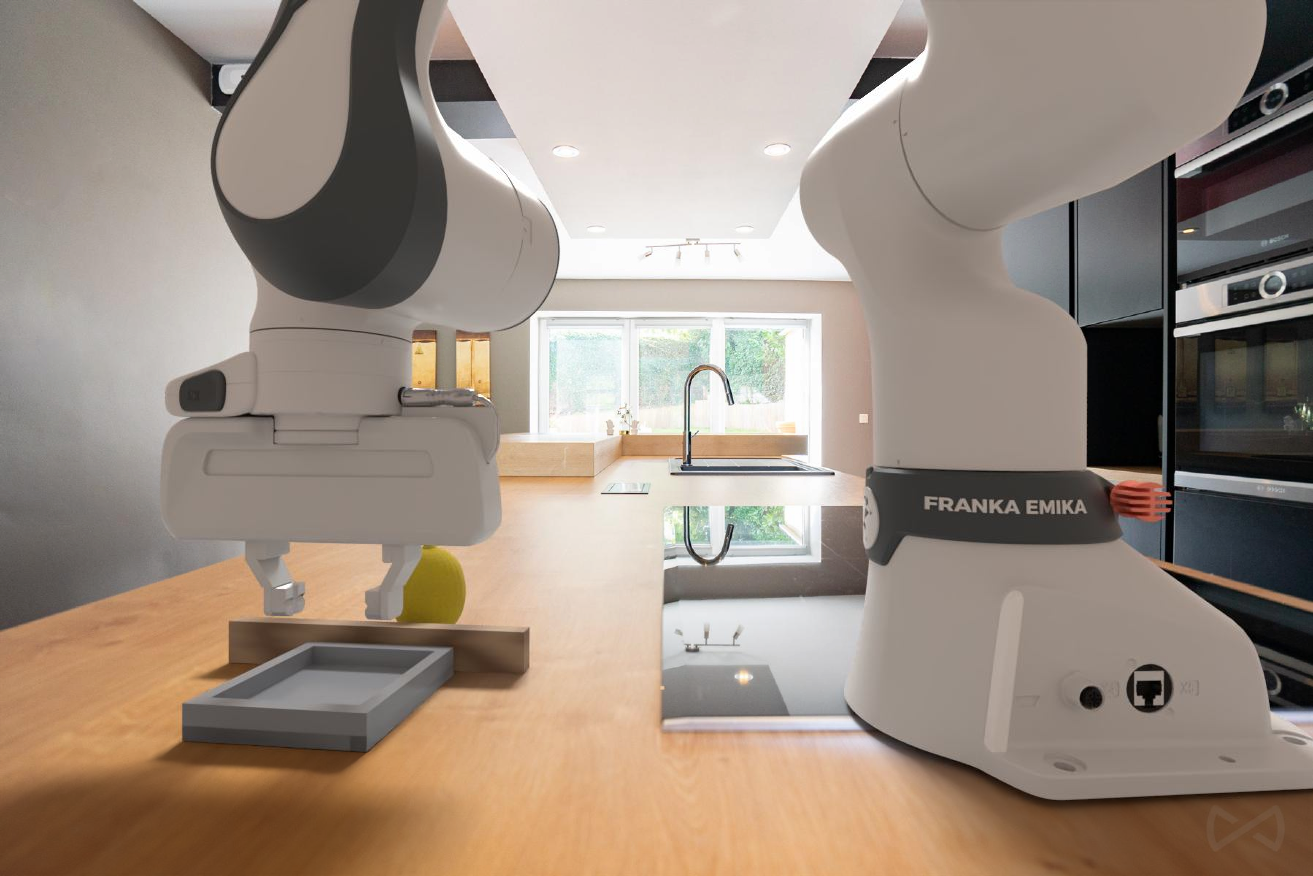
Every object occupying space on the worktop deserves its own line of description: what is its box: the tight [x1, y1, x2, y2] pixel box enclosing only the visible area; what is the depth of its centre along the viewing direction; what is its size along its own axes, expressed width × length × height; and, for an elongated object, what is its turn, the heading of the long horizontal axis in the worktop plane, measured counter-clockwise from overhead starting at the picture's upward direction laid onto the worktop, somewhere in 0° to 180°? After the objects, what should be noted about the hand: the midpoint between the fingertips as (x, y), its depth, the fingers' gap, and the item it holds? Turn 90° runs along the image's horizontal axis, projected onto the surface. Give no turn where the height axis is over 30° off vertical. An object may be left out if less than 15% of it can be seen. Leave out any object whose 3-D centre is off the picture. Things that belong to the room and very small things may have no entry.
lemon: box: [395, 545, 467, 624], centre depth 50 cm, size 6×6×8 cm
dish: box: [181, 641, 454, 753], centre depth 39 cm, size 10×10×2 cm
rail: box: [228, 615, 531, 674], centre depth 45 cm, size 22×1×3 cm, turn 84°
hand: (334, 615), depth 39 cm, fingers open, 5 cm apart
